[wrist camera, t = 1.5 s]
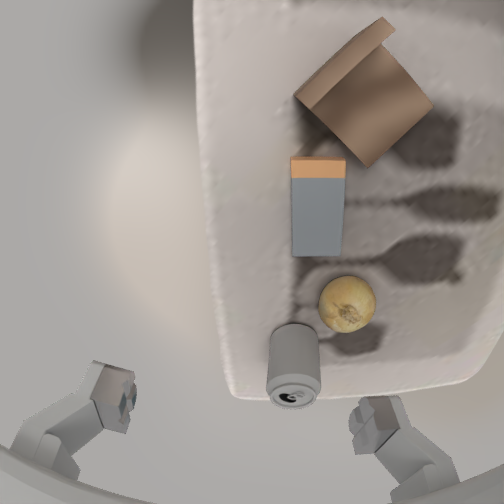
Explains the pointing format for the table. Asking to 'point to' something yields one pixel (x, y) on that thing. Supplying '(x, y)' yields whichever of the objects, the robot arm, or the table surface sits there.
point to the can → (293, 367)
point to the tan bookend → (365, 95)
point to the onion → (347, 304)
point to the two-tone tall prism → (317, 205)
